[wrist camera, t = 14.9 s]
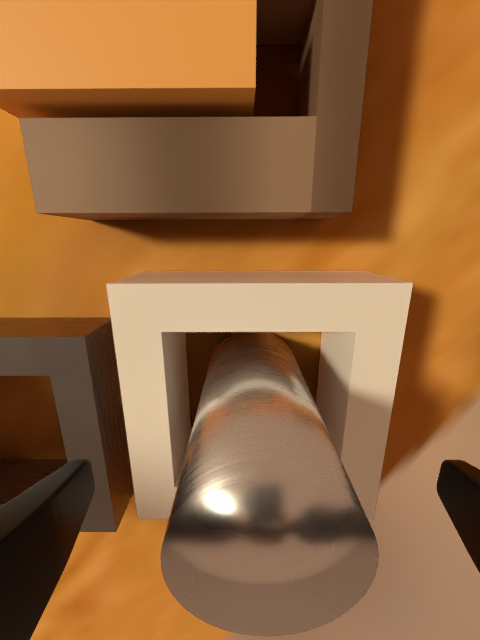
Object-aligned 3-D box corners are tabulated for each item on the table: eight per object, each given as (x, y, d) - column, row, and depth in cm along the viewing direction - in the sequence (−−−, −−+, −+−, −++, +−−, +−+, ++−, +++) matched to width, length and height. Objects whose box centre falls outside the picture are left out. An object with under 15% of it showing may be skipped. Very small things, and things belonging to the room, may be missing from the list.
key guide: (90, 220, 11) (36, 213, 8) (52, -47, 9) (-38, -185, 6) (323, 219, 11) (352, 211, 8) (343, -50, 9) (392, -189, 6)
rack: (162, 452, 14) (137, 518, 11) (145, 271, 12) (106, 283, 8) (341, 452, 14) (373, 518, 11) (363, 270, 12) (413, 282, 8)
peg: (210, 408, 13) (169, 635, 6) (207, 329, 12) (151, 478, 5) (294, 408, 13) (365, 636, 6) (298, 329, 12) (393, 478, 5)
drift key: (57, 139, 10) (-34, 89, 7) (44, 55, 9) (-65, -48, 6) (250, 138, 10) (255, 87, 7) (251, 53, 9) (257, -50, 6)
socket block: (-35, 483, 15) (-89, 531, 12) (-91, 317, 12) (-172, 337, 10) (136, 483, 15) (116, 531, 12) (115, 317, 12) (84, 336, 10)
